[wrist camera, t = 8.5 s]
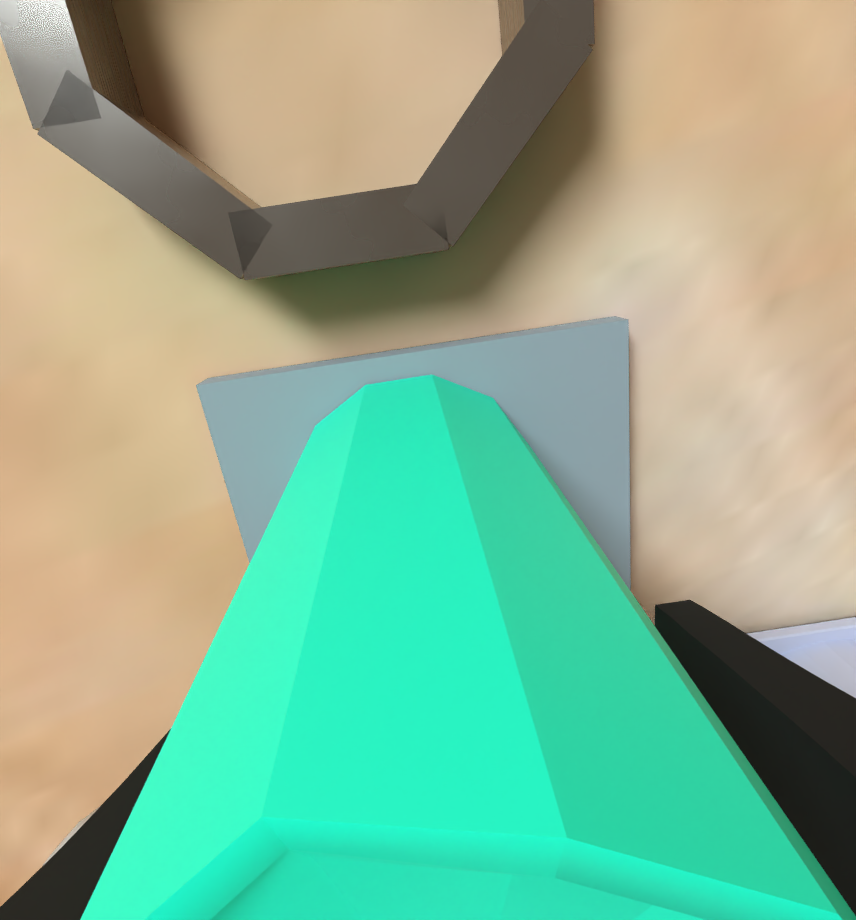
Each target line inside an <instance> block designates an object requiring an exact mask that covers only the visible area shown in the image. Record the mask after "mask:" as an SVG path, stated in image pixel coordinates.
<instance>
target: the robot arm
mask: <svg viewBox="0 0 856 920" xmlns="http://www.w3.org/2000/svg"><path fill="white" fill-rule="evenodd" d="M655 627H656V629H657V630H658V632H659V633H660V634H661V636H662V637H663V639H664V640H665V642H666V643H667V645H668V646H669V647H670V649H671V650H672V652H673V653H674V655H675V656H676V658H677V659H678V660H679V662H680V663H681V665H682V666H683V668H684V669H685V670H686V672H687V673H688V675H689V676H690V678H691V679H692V681H693V682H694V683H695V685H696V686H697V688H698V689H699V691H700V692H701V694H702V695H703V696H704V698H705V699H706V701H707V702H708V704H709V705H710V707H711V708H712V709H713V711H714V712H715V714H716V715H717V717H718V718H719V720H720V721H721V722H722V724H723V725H724V727H725V728H726V730H727V731H728V733H729V734H730V735H731V737H732V738H733V740H734V741H735V743H736V744H737V746H738V747H739V748H740V750H741V751H742V753H743V754H744V756H745V757H746V758H747V760H748V761H749V763H750V764H751V766H752V767H753V769H754V770H755V771H756V773H757V774H758V776H759V777H760V779H761V780H762V782H763V783H764V784H765V786H766V787H767V789H768V790H769V792H770V793H771V795H772V796H773V797H774V799H775V800H776V802H777V803H778V805H779V806H780V808H781V809H782V810H783V812H784V813H785V815H786V816H787V818H788V819H789V821H790V822H791V823H792V825H793V826H794V828H795V829H796V831H797V832H798V834H799V835H800V836H801V838H802V839H803V841H804V842H805V844H806V845H807V846H808V848H809V849H810V851H811V852H812V854H813V855H814V857H815V858H816V859H817V861H818V862H819V864H820V865H821V867H822V868H823V870H824V871H825V872H826V874H827V875H828V877H829V878H830V880H831V881H832V883H833V884H834V885H835V887H836V888H837V890H838V891H839V893H840V894H841V896H842V897H843V898H844V900H845V901H846V903H847V904H848V906H849V907H850V909H851V910H852V911H853V913H854V914H855V916H856V617H852V618H846V619H839V620H833V621H826V622H820V623H813V624H807V625H800V626H793V627H787V628H780V629H774V630H767V631H761V632H754V633H747V634H746V633H744V632H743V631H741V630H740V629H738V628H736V627H735V626H733V625H731V624H730V623H728V622H727V621H725V620H723V619H722V618H720V617H718V616H717V615H715V614H713V613H712V612H710V611H709V610H707V609H705V608H703V607H702V606H700V605H698V604H697V603H695V602H693V601H691V600H686V601H679V602H673V603H666V604H660V605H655ZM170 730H171V729H170ZM170 730H169V731H168V733H167V734H166V735H165V736H164V737H163V738H162V739H161V740H160V742H159V743H158V744H157V745H156V746H155V747H154V748H153V749H152V751H151V752H150V753H149V754H148V755H147V756H146V757H145V758H144V760H143V761H142V762H141V763H140V764H139V765H138V766H137V768H136V769H135V770H134V771H133V772H132V773H131V774H130V775H129V777H128V778H127V779H126V780H125V781H124V782H123V783H122V784H121V785H120V786H119V787H118V788H117V789H116V791H115V792H114V793H113V794H112V795H111V796H110V797H109V798H108V799H107V800H106V801H105V802H104V803H103V804H102V805H101V806H100V807H99V808H98V810H97V811H96V812H95V813H94V814H93V815H92V816H91V817H90V818H89V819H88V820H87V821H86V822H85V823H84V824H83V825H82V826H81V827H80V828H79V830H78V831H77V832H76V833H75V834H74V835H73V836H72V837H71V838H70V839H69V840H68V841H67V842H66V843H65V844H64V845H63V846H62V847H61V848H60V849H59V850H58V851H57V852H56V853H55V854H54V855H53V856H52V857H51V858H50V859H49V860H48V861H47V862H46V863H45V864H44V865H43V866H42V867H41V868H40V869H39V870H38V871H37V872H36V873H35V874H34V875H33V876H32V877H31V878H30V879H29V880H28V881H27V882H26V883H25V884H24V885H23V886H22V887H21V888H20V889H19V890H18V891H17V892H16V893H15V894H14V895H12V896H11V897H10V898H9V899H8V900H7V901H6V902H5V903H4V904H3V905H2V906H1V907H0V920H80V919H81V917H82V915H83V913H84V911H85V909H86V907H87V905H88V902H89V900H90V898H91V896H92V894H93V892H94V890H95V888H96V886H97V884H98V881H99V879H100V877H101V875H102V873H103V871H104V869H105V867H106V865H107V863H108V860H109V858H110V856H111V854H112V852H113V850H114V848H115V846H116V844H117V841H118V839H119V837H120V835H121V833H122V831H123V829H124V827H125V825H126V823H127V820H128V818H129V816H130V814H131V812H132V810H133V808H134V806H135V804H136V802H137V799H138V797H139V795H140V793H141V791H142V789H143V787H144V785H145V783H146V781H147V778H148V776H149V774H150V772H151V770H152V768H153V766H154V764H155V762H156V759H157V757H158V755H159V753H160V751H161V749H162V747H163V745H164V743H165V741H166V738H167V736H168V734H169V732H170Z"/></svg>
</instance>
